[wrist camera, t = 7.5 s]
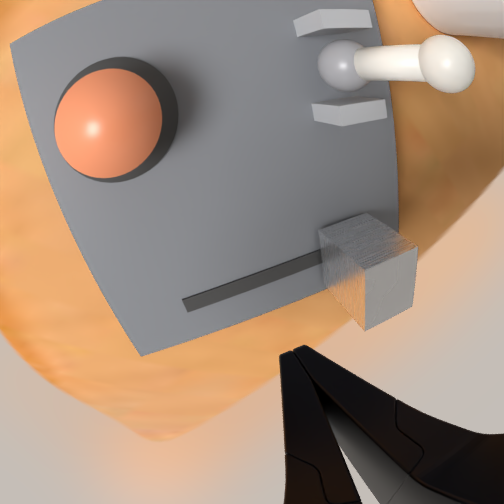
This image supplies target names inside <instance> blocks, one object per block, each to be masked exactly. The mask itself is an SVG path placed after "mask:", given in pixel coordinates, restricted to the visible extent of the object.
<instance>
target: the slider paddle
mask: <svg viewBox="0 0 504 504" xmlns="http://www.w3.org/2000/svg"><path fill="white" fill-rule="evenodd" d="M318 233H319V240H320V248H321V256H322V265H323V274H324V283H325V286H326V288H327V289H328V290H329V291H330V292H331V293H332V294H333V296H334V297H335V298H336V299H337V300H338V301H339V302H340V304H341V305H342V306H343V307H344V308H345V309H346V310H347V312H348V313H349V314H350V315H351V316H352V317H353V318H354V320H355V321H356V322H357V323H358V324H359V325H360V327H361V328H362V329H363V330H364V331H366V330H368V329H370V328H372V327H374V326H376V325H378V324H380V323H382V322H384V321H386V320H388V319H390V318H392V317H393V316H395V315H397V314H399V313H401V312H403V311H405V310H407V309H408V308H410V307H412V304H413V296H414V288H415V277H416V267H417V256H418V246H417V245H415V244H414V243H412V242H411V241H409V240H408V239H406V238H405V237H403V236H402V235H400V234H399V233H397V232H396V231H394V230H393V229H391V228H390V227H388V226H387V225H385V224H384V223H382V222H380V221H379V220H377V219H376V218H374V217H372V216H371V215H369V214H368V213H364V214H361V215H358V216H356V217H353V218H350V219H347V220H344V221H341V222H339V223H336V224H333V225H330V226H327V227H325V228H322V229H319V230H318Z"/></svg>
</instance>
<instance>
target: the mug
mask: <svg viewBox="0 0 504 504" xmlns="http://www.w3.org/2000/svg"><path fill="white" fill-rule="evenodd" d="M412 2H413V3H414V5H415V7H416V8H417V10H418V11H419V12H420V14H421V15H422V16H423V17H424V19H425V20H426V21H427V22H428V23H429V24H431V25H432V26H433V27H434V28H436V29H437V30H439V31H440V32H442V33H445V34H449V35H465V36H479V37H490V38H502V39H504V0H412Z"/></svg>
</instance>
